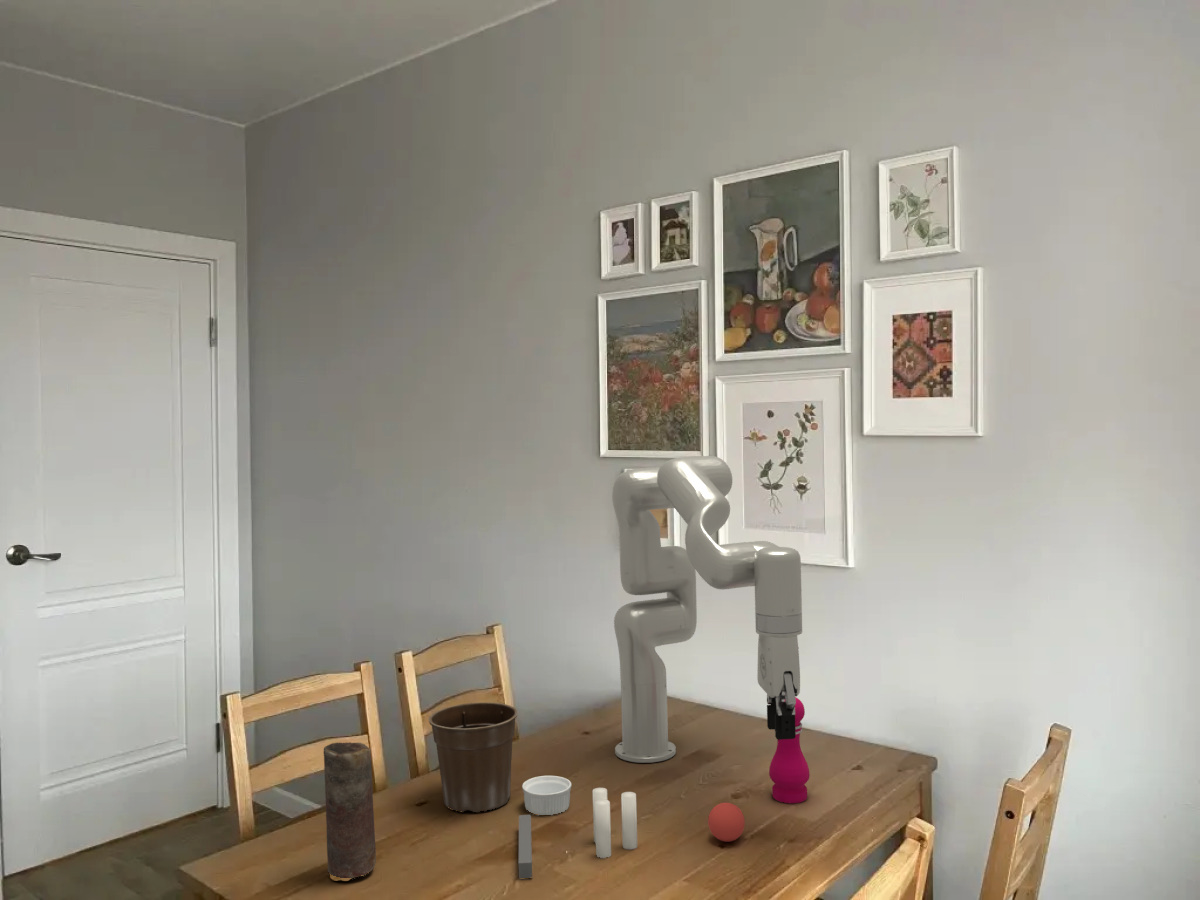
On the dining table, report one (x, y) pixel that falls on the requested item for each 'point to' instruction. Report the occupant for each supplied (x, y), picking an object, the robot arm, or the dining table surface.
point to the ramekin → (546, 794)
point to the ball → (726, 822)
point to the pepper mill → (790, 765)
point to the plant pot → (475, 754)
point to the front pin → (629, 820)
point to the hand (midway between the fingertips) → (781, 732)
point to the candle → (349, 809)
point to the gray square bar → (525, 847)
